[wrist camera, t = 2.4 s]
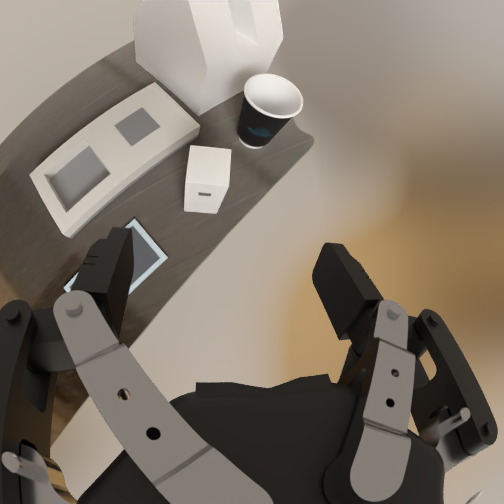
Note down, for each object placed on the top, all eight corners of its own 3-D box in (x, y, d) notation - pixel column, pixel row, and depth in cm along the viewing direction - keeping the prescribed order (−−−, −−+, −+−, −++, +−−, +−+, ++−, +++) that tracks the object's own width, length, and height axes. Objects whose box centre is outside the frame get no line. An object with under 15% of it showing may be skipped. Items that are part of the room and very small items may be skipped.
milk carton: (136, 62, 37) (134, -48, 13) (199, 33, 42) (221, -62, 18) (198, 116, 39) (227, -19, 15) (262, 80, 43) (316, -24, 19)
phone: (96, 327, 31) (94, 328, 30) (66, 287, 31) (63, 287, 30) (168, 258, 35) (167, 257, 34) (135, 220, 35) (134, 218, 34)
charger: (216, 214, 37) (228, 187, 27) (183, 211, 36) (185, 183, 26) (218, 183, 38) (231, 149, 28) (187, 180, 37) (190, 145, 27)
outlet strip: (71, 238, 31) (62, 234, 28) (37, 182, 30) (29, 174, 27) (198, 136, 38) (200, 125, 35) (155, 93, 37) (154, 81, 34)
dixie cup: (242, 164, 39) (263, 123, 29) (219, 124, 39) (233, 78, 29) (285, 149, 41) (314, 110, 31) (261, 112, 42) (283, 69, 31)
